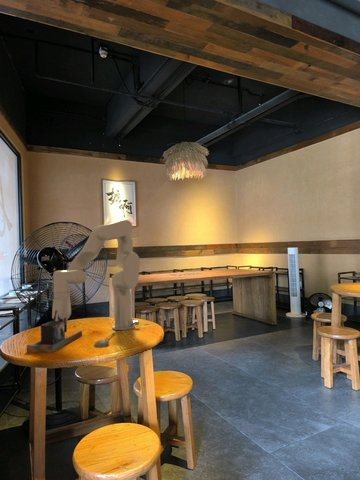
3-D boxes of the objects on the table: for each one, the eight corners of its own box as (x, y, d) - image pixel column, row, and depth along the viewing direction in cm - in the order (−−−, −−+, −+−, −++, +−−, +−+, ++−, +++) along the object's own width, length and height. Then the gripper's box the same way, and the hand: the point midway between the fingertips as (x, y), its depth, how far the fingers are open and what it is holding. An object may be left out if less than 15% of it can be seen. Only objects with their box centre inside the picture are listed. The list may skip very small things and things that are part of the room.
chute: (82, 335, 166) (81, 329, 166) (50, 352, 139) (50, 345, 139) (61, 335, 168) (61, 329, 168) (26, 352, 141) (26, 345, 141)
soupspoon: (91, 350, 144) (105, 351, 143) (91, 343, 144) (105, 343, 143) (108, 335, 166) (120, 335, 165) (108, 328, 166) (120, 329, 165)
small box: (53, 348, 145) (52, 325, 145) (40, 348, 146) (39, 325, 146) (65, 341, 155) (65, 320, 156) (53, 341, 157) (53, 319, 157)
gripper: (63, 293, 168) (64, 328, 167) (46, 297, 153) (47, 336, 153) (76, 293, 166) (77, 328, 166) (60, 297, 152) (61, 336, 151)
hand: (62, 332), depth 159 cm, fingers closed
